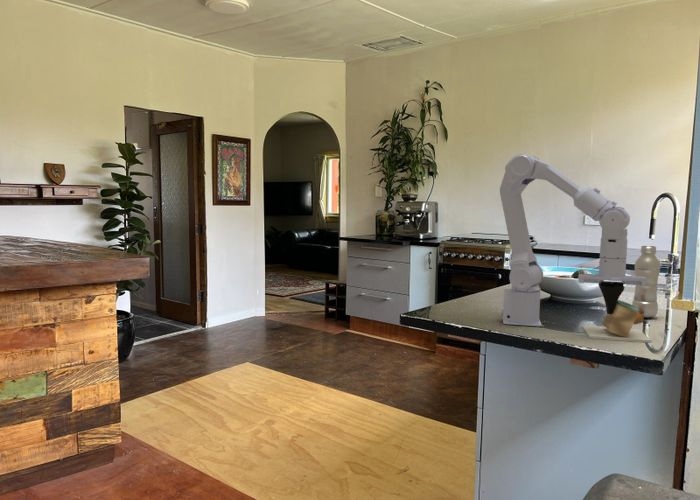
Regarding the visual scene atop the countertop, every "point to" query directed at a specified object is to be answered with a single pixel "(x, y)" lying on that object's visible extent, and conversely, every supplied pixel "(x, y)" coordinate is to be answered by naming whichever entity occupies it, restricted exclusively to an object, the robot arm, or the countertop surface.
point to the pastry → (639, 318)
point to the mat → (604, 333)
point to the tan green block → (621, 318)
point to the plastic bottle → (647, 282)
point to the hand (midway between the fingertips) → (609, 313)
